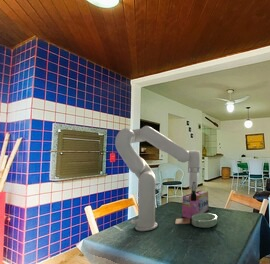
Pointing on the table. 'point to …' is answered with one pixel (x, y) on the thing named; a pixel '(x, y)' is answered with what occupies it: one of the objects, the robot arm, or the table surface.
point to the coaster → (183, 221)
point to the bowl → (204, 220)
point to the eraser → (196, 197)
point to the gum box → (194, 204)
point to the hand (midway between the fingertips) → (193, 199)
